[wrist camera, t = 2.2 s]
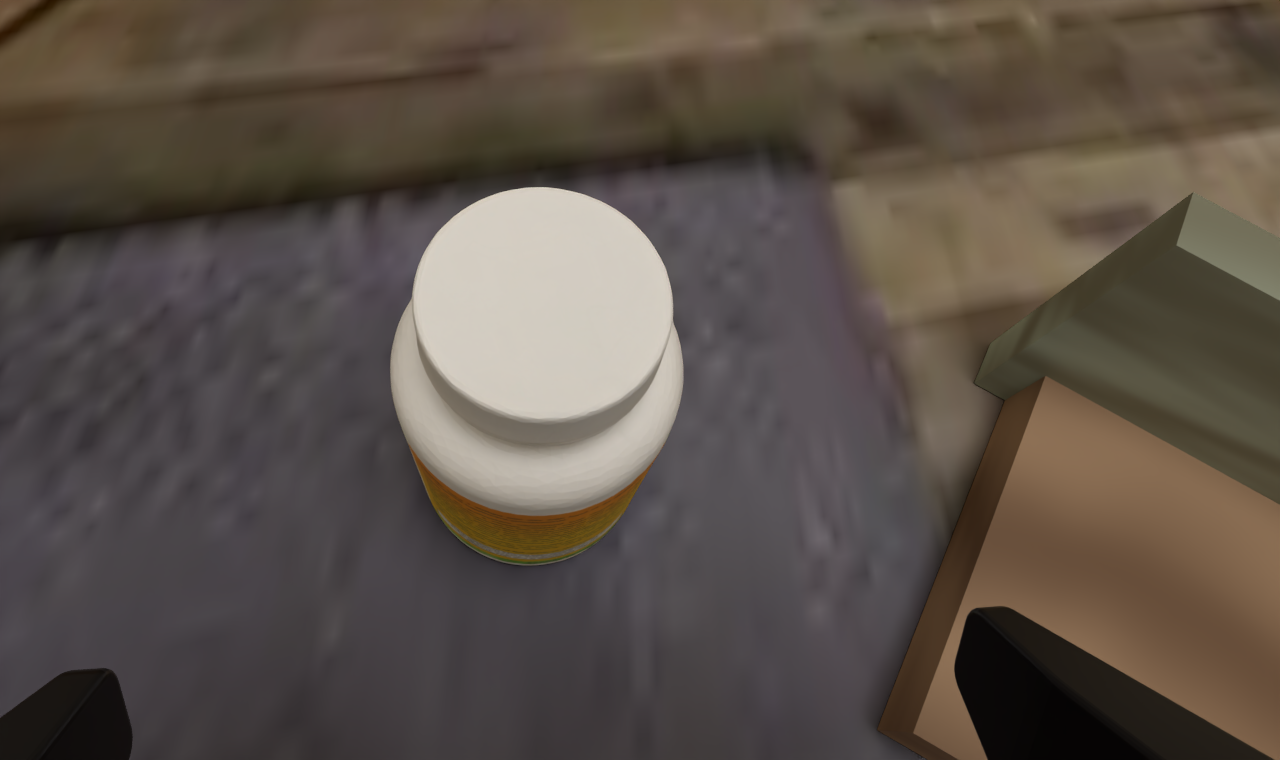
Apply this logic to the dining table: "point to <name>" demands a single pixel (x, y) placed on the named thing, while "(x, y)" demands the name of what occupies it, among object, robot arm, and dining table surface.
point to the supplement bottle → (536, 372)
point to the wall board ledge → (1129, 485)
